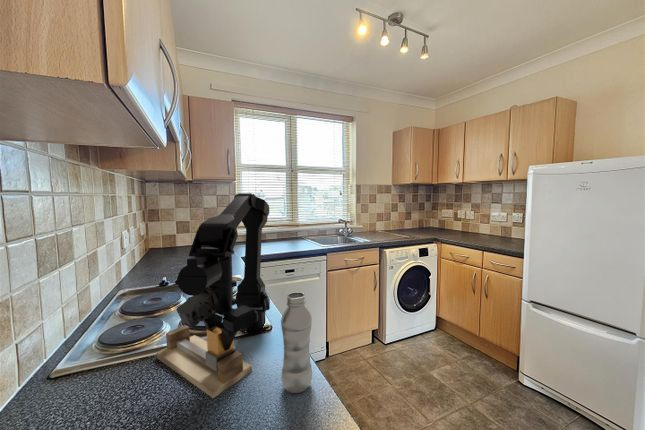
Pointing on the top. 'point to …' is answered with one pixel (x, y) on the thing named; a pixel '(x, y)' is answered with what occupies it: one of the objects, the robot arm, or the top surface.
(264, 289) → the robot arm
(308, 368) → the plastic bottle
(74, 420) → the top surface
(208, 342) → the slider block
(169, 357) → the rail board
